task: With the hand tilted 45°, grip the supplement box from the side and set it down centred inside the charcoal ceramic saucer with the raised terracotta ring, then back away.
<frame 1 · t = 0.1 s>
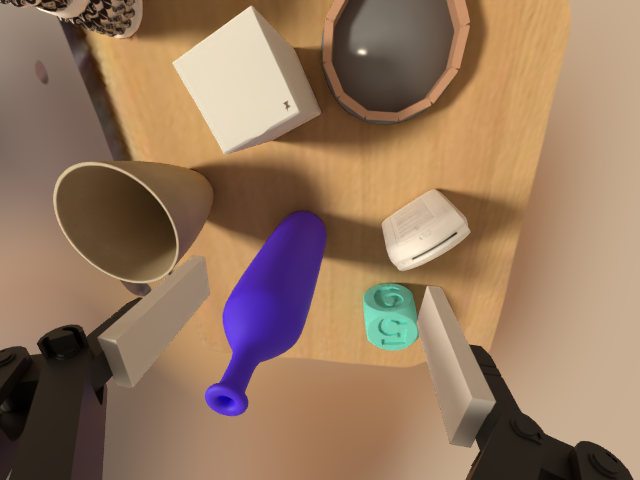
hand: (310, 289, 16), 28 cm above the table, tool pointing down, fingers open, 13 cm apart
bottle: (303, 231, 46), on the table
decorative candle: (113, 0, 35), on the table
mint green rounded piece: (387, 300, 49), on the table
plant pot: (193, 192, 45), on the table
photo printer: (411, 213, 42), on the table
ringed saucer: (390, 49, 33), on the table
supplement box: (280, 97, 37), on the table
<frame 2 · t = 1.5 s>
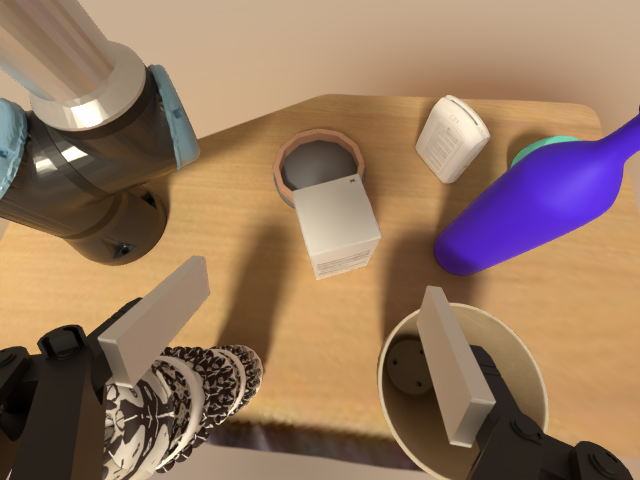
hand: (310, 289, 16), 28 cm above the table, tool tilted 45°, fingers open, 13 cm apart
bottle: (456, 252, 45), on the table
decorative candle: (235, 374, 40), on the table
mint green rounded piece: (531, 184, 48), on the table
plant pot: (411, 366, 39), on the table
photo printer: (435, 163, 51), on the table
ringed saucer: (319, 173, 51), on the table
supplement box: (334, 249, 46), on the table
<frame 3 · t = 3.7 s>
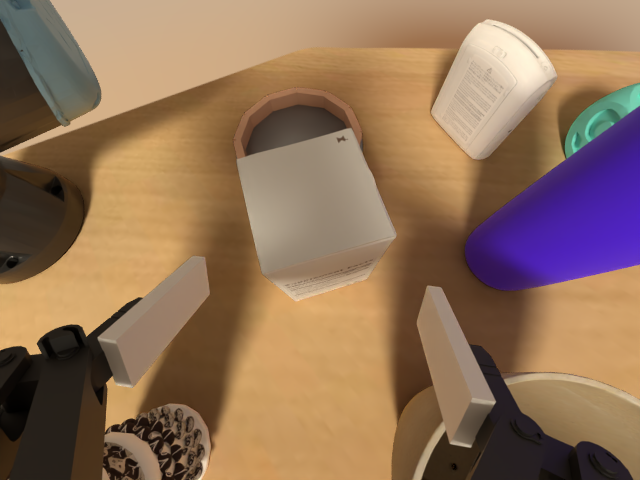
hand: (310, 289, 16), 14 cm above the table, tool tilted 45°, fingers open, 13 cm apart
bottle: (497, 257, 31), on the table
decorative candle: (169, 452, 26), on the table
mint green rounded piece: (595, 159, 35), on the table
plant pot: (440, 436, 25), on the table
photo printer: (460, 133, 37), on the table
ringed saucer: (299, 150, 37), on the table
supplement box: (320, 255, 32), on the table
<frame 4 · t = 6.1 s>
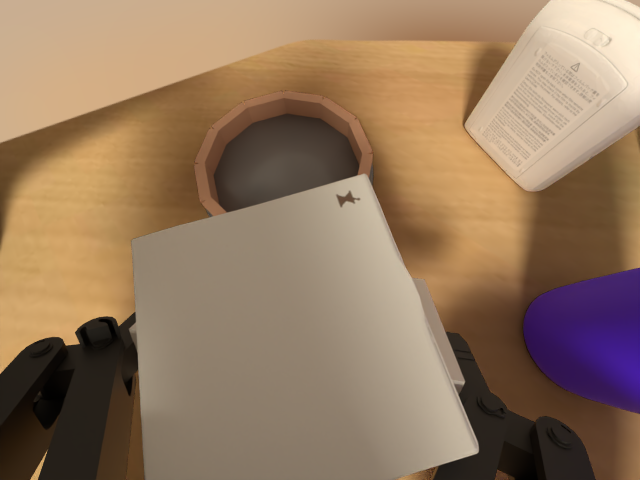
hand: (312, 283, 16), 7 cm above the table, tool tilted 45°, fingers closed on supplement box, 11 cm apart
bottle: (570, 339, 21), on the table
photo printer: (504, 153, 27), on the table
ringed saucer: (287, 175, 27), on the table
supplement box: (312, 331, 22), on the table, touching gripper
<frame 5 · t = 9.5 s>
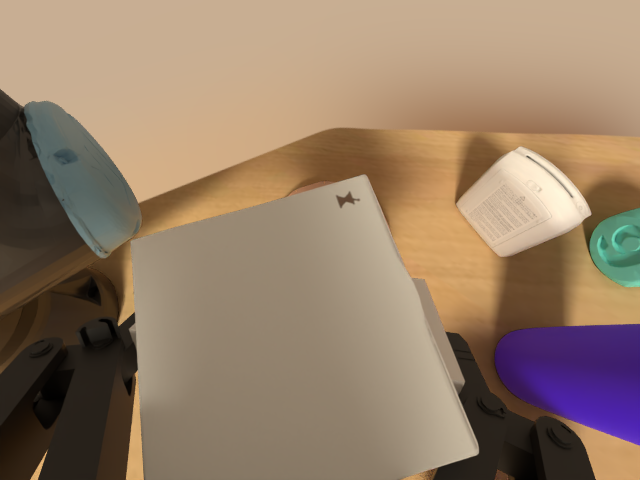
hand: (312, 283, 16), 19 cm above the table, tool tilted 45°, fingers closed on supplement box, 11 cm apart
bottle: (526, 364, 31), on the table
mint green rounded piece: (619, 256, 35), on the table
photo printer: (485, 225, 37), on the table
supplement box: (312, 332, 22), point 12 cm above the table, touching gripper
when the fingers open (10 cm above the table, at t = 12.7 s): supplement box drops 2 cm, resting on ringed saucer.
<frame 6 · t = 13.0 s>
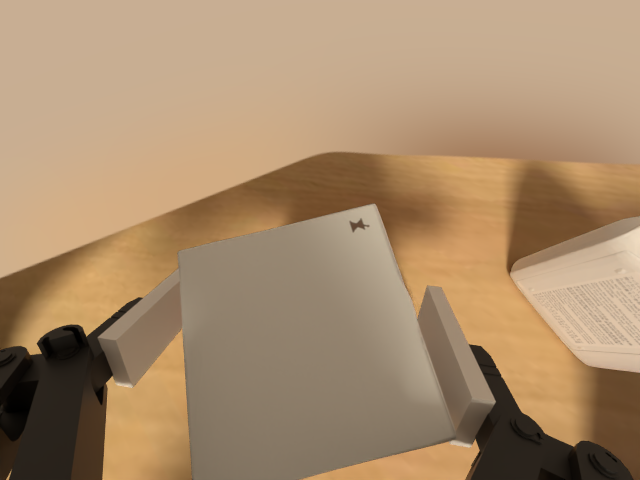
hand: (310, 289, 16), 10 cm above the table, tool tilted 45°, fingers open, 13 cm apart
photo printer: (555, 307, 25), on the table
supplement box: (318, 333, 24), point 1 cm above the table, touching ringed saucer
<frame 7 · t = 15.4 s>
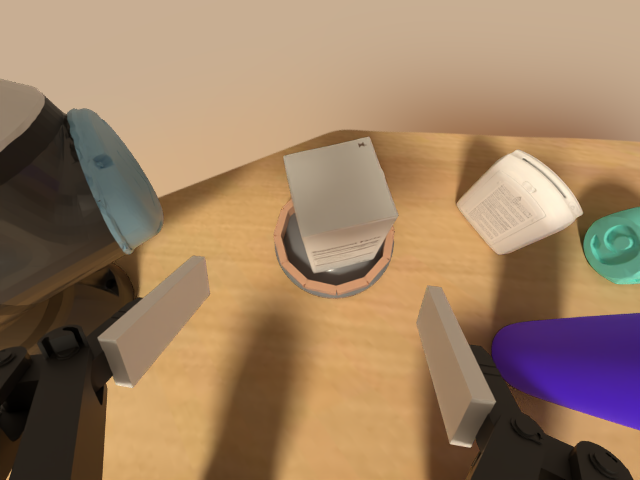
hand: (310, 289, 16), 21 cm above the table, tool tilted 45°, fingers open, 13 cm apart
bottle: (521, 356, 33), on the table
mint green rounded piece: (612, 255, 37), on the table
photo printer: (484, 224, 39), on the table
ringed saucer: (333, 239, 39), on the table
supplement box: (335, 238, 38), point 1 cm above the table, touching ringed saucer
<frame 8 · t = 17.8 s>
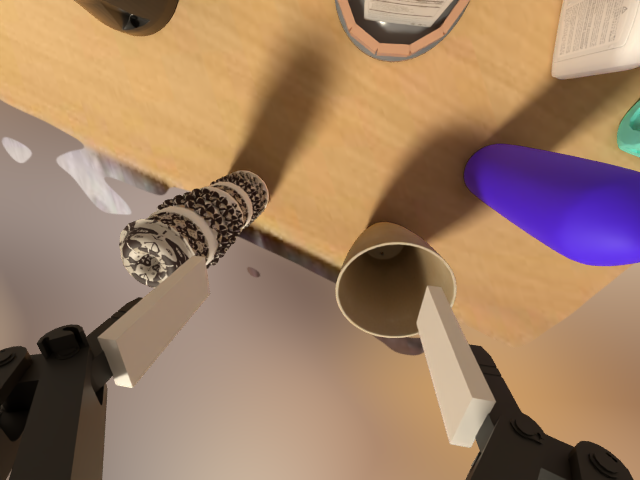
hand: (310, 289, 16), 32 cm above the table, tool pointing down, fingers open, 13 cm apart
bottle: (489, 170, 41), on the table
decorative candle: (246, 193, 48), on the table
plant pot: (383, 240, 48), on the table
photo printer: (571, 33, 33), on the table
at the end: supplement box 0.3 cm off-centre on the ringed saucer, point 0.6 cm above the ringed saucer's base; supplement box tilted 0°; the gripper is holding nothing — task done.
